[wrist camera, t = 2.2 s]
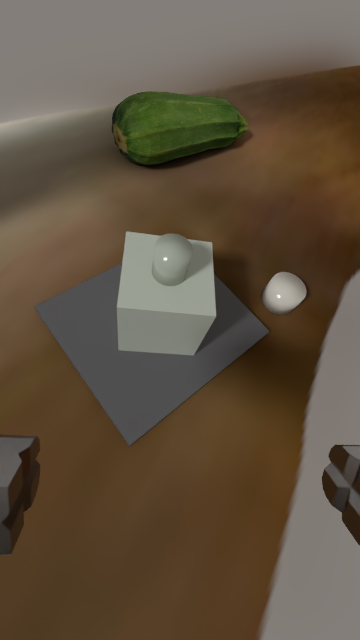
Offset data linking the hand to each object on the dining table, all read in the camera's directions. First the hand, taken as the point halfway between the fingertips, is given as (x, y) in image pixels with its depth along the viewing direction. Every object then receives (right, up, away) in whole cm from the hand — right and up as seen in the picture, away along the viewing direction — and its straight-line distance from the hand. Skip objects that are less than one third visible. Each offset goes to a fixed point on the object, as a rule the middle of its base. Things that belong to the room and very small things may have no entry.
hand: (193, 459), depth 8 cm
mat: (-2, +4, +19) cm, 19 cm away
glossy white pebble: (+10, +6, +23) cm, 25 cm away
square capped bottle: (-2, +4, +18) cm, 19 cm away
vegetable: (0, +27, +32) cm, 42 cm away
